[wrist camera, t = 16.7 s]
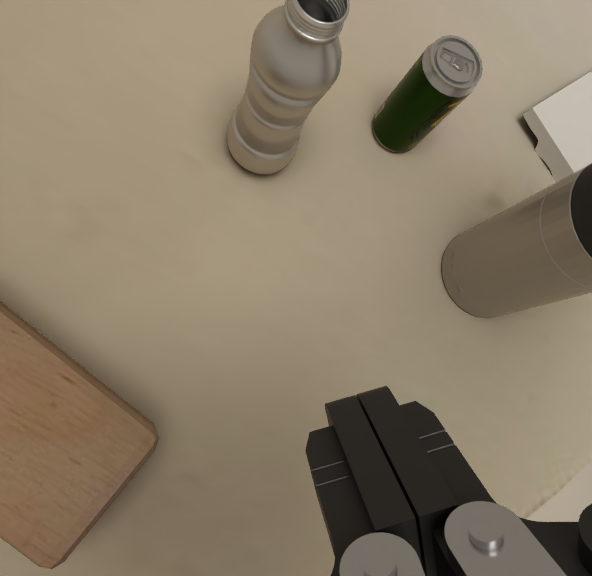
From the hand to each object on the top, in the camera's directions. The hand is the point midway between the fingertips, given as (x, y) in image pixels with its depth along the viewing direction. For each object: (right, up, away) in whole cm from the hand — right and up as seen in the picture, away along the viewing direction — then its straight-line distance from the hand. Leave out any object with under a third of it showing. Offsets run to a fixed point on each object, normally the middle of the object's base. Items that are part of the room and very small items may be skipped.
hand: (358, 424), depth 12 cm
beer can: (+9, +20, +43) cm, 48 cm away
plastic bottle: (-5, +16, +38) cm, 42 cm away
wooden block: (-14, -11, +24) cm, 30 cm away
